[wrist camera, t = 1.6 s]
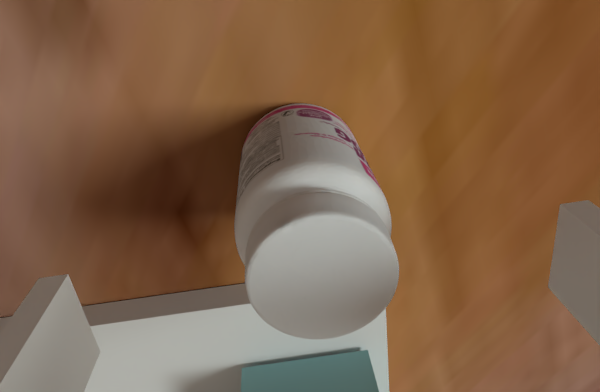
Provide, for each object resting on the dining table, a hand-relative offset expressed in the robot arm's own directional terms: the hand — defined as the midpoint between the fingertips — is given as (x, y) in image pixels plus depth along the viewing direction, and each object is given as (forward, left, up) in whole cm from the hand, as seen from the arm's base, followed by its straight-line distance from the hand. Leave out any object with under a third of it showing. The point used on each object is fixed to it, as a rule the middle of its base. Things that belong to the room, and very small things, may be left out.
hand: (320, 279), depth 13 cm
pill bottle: (0, 0, -8) cm, 8 cm away
